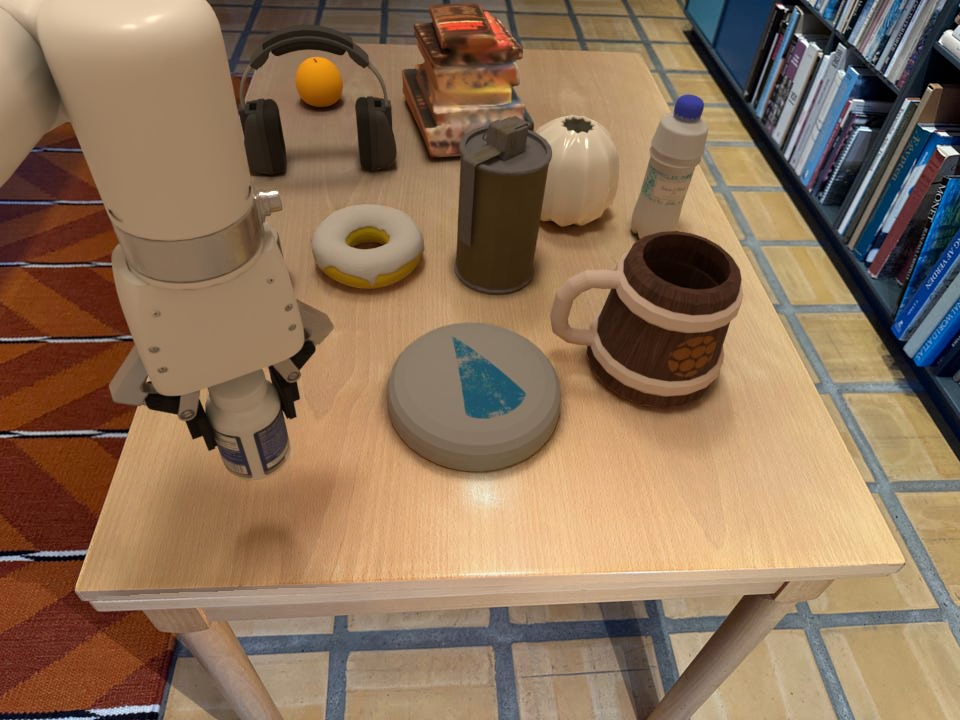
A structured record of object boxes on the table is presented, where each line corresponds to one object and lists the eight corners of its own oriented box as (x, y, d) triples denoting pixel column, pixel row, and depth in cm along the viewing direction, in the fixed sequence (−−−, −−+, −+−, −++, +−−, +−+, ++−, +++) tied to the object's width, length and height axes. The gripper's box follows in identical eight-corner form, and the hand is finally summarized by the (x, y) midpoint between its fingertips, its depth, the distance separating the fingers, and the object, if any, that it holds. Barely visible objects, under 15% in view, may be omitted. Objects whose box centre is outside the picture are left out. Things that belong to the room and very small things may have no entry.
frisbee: (507, 320, 78) (511, 289, 74) (592, 434, 67) (601, 404, 64) (362, 366, 72) (359, 334, 68) (430, 499, 61) (430, 470, 57)
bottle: (631, 247, 90) (672, 109, 75) (622, 218, 94) (659, 83, 80) (678, 248, 90) (728, 111, 75) (667, 220, 95) (712, 85, 80)
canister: (495, 234, 90) (508, 93, 75) (549, 272, 85) (575, 129, 70) (435, 265, 84) (437, 120, 70) (489, 307, 80) (504, 161, 65)
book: (535, 157, 104) (550, 48, 92) (426, 166, 101) (426, 54, 88) (497, 92, 119) (506, -9, 106) (401, 98, 115) (398, -7, 103)
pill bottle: (286, 423, 56) (269, 345, 49) (296, 474, 53) (279, 398, 46) (220, 437, 54) (193, 359, 47) (226, 490, 51) (198, 415, 44)
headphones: (394, 150, 103) (389, 17, 88) (398, 172, 99) (393, 36, 84) (249, 156, 99) (219, 18, 85) (247, 178, 95) (214, 37, 81)
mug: (698, 321, 80) (741, 220, 69) (728, 417, 70) (784, 317, 59) (539, 312, 80) (557, 209, 69) (545, 408, 69) (568, 305, 58)
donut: (434, 238, 88) (435, 207, 85) (408, 304, 79) (407, 273, 75) (336, 221, 89) (332, 190, 86) (299, 285, 80) (293, 253, 76)
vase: (496, 205, 95) (504, 118, 85) (560, 174, 101) (575, 90, 92) (565, 251, 88) (583, 163, 78) (629, 215, 95) (652, 129, 85)
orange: (346, 112, 111) (341, 68, 105) (298, 114, 109) (291, 69, 104) (343, 91, 116) (339, 48, 110) (298, 92, 114) (291, 49, 109)
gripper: (309, 163, 42) (332, 352, 56) (10, 230, 35) (118, 428, 49) (357, 225, 38) (369, 413, 52) (30, 315, 31) (141, 506, 45)
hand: (247, 419), depth 50 cm, fingers closed on pill bottle, 5 cm apart
